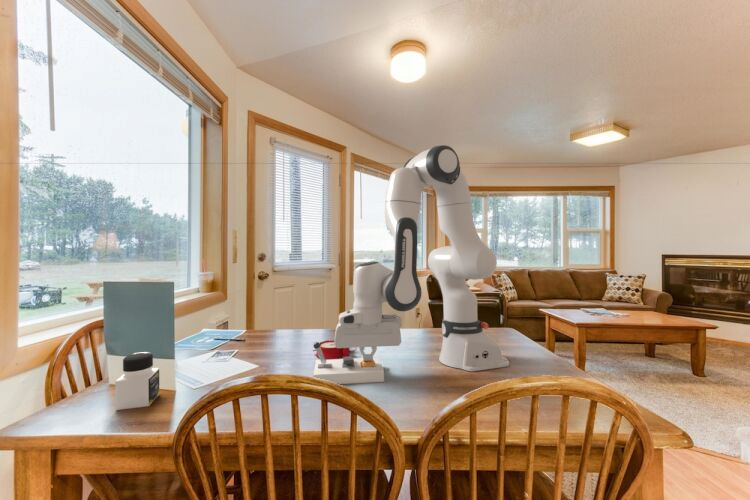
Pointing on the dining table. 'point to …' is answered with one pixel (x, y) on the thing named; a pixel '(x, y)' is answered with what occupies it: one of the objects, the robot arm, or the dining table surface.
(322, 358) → the lever
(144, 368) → the medicine bottle
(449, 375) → the dining table surface
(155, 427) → the dining table surface
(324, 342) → the alarm clock
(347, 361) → the rocker
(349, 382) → the panel
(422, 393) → the dining table surface
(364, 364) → the button
